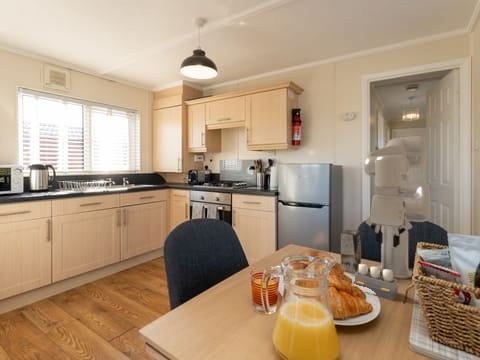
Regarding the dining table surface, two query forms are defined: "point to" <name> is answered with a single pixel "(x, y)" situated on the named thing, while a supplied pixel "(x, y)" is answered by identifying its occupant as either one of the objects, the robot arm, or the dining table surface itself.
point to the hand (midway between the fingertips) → (387, 244)
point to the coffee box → (351, 250)
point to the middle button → (375, 272)
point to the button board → (378, 285)
